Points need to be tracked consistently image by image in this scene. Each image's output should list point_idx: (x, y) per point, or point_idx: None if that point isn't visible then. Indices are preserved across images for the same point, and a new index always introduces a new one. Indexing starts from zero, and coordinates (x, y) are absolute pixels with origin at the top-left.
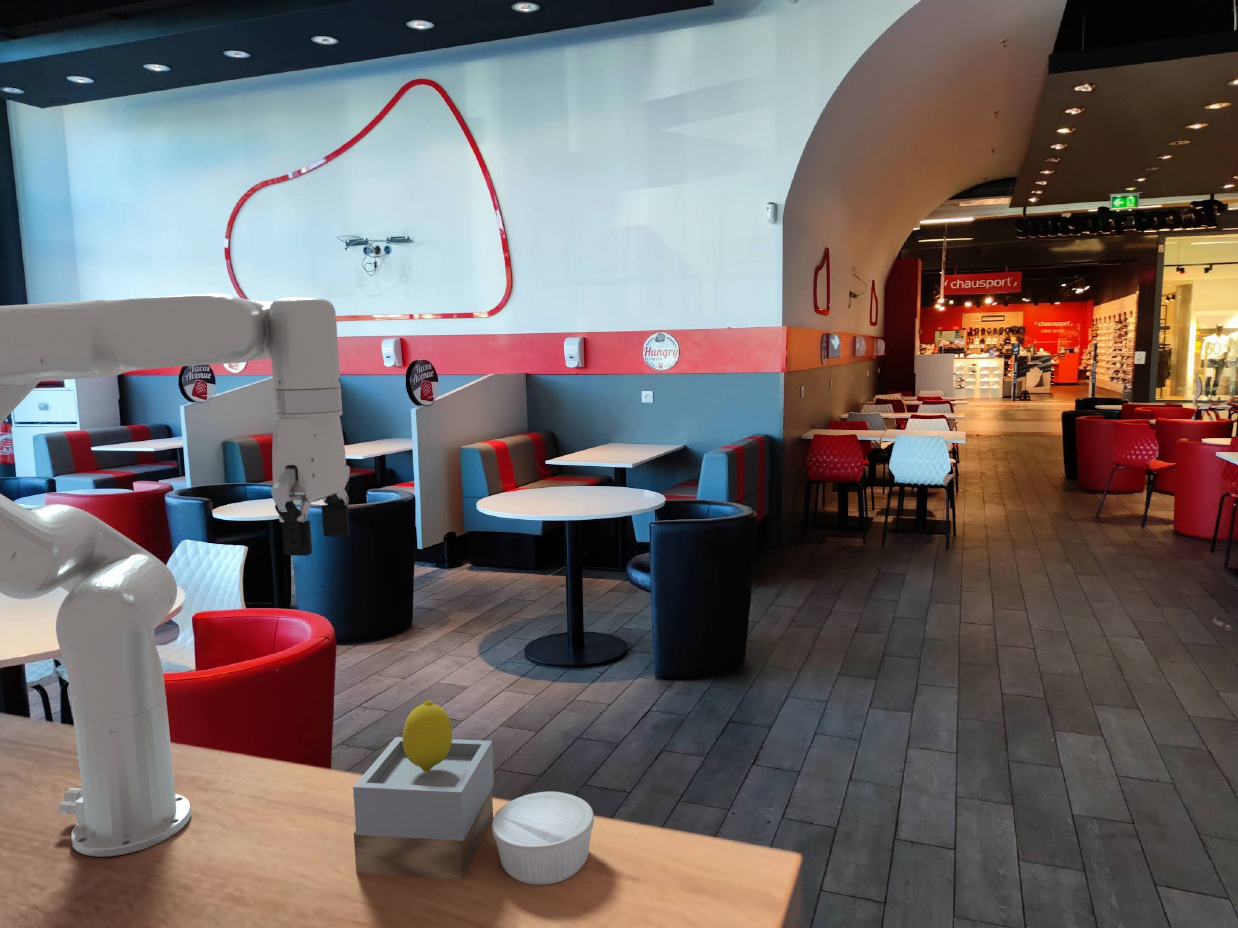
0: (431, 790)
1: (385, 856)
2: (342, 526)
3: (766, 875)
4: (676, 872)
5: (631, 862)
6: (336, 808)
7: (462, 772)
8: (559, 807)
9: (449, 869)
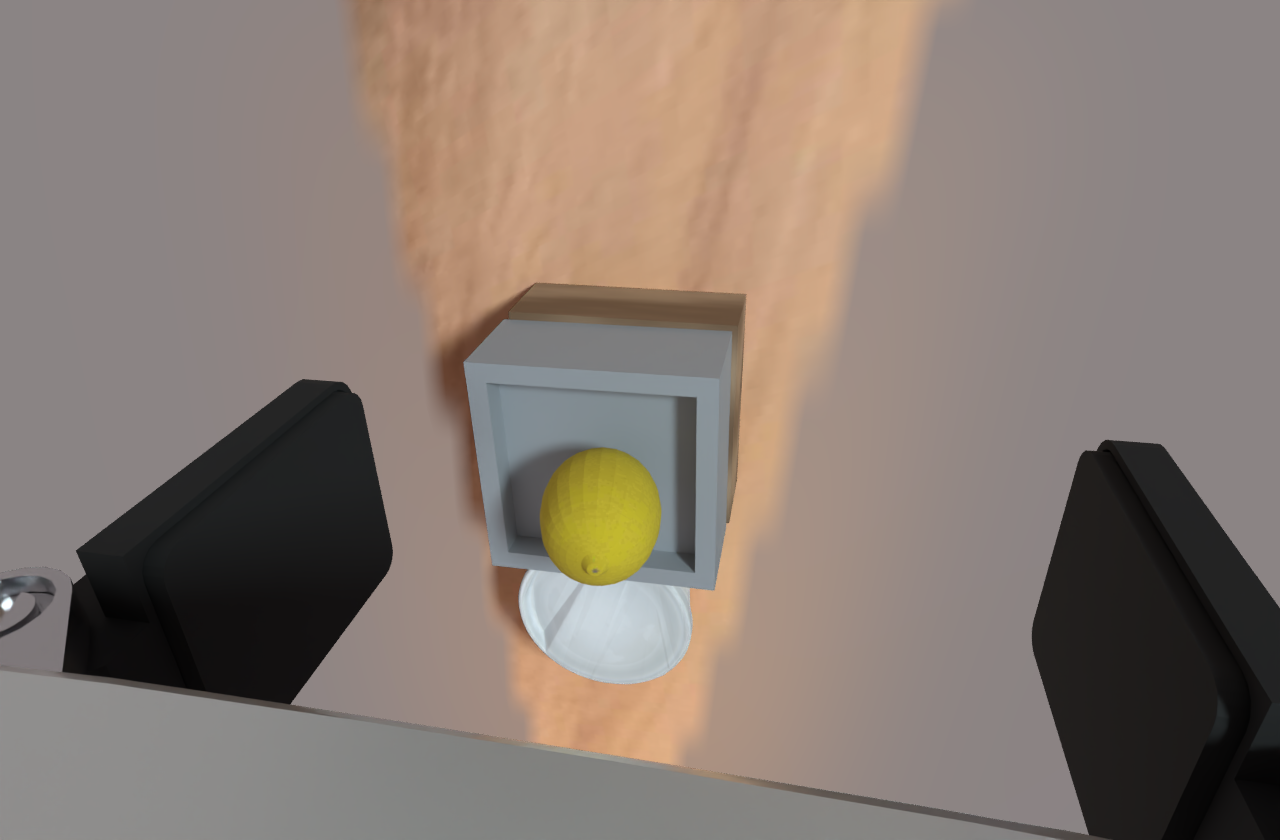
0: (486, 515)
1: None
2: (1061, 689)
3: None
4: (616, 717)
5: None
6: (761, 135)
7: None
8: (637, 640)
9: None
